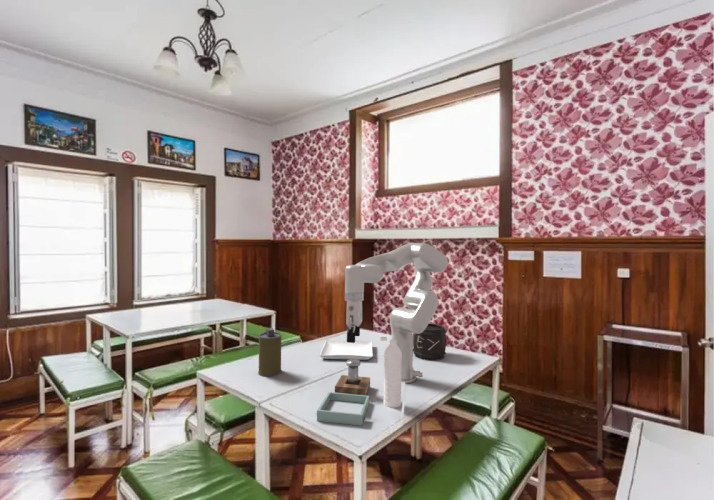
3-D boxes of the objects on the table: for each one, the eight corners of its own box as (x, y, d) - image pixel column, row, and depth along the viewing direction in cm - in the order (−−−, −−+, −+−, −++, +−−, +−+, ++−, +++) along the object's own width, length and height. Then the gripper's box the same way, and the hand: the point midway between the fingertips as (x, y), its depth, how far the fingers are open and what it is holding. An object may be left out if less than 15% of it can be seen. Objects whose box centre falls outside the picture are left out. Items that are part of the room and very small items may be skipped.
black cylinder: (404, 353, 201) (405, 325, 200) (428, 348, 211) (429, 321, 210) (428, 363, 186) (428, 332, 185) (452, 357, 196) (453, 328, 195)
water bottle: (404, 405, 138) (405, 339, 137) (394, 411, 133) (396, 343, 132) (384, 399, 143) (385, 335, 143) (374, 405, 138) (376, 338, 137)
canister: (284, 373, 168) (285, 330, 167) (262, 378, 163) (262, 333, 162) (276, 366, 177) (277, 325, 177) (255, 370, 172) (255, 327, 171)
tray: (369, 405, 138) (369, 395, 138) (362, 425, 123) (362, 415, 123) (328, 401, 141) (328, 392, 141) (316, 420, 126) (316, 410, 125)
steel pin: (361, 389, 150) (361, 359, 149) (358, 395, 144) (359, 364, 144) (347, 388, 151) (347, 358, 150) (344, 393, 145) (345, 363, 145)
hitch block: (369, 389, 152) (370, 377, 152) (365, 402, 141) (365, 389, 140) (341, 386, 154) (341, 375, 154) (334, 399, 143) (334, 386, 143)
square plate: (325, 345, 214) (325, 339, 214) (372, 347, 213) (372, 340, 213) (318, 361, 187) (318, 353, 187) (372, 363, 186) (373, 355, 186)
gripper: (359, 300, 137) (358, 345, 138) (367, 293, 154) (366, 334, 155) (339, 299, 139) (339, 344, 139) (349, 292, 156) (348, 333, 156)
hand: (353, 339), depth 147 cm, fingers open, 9 cm apart
